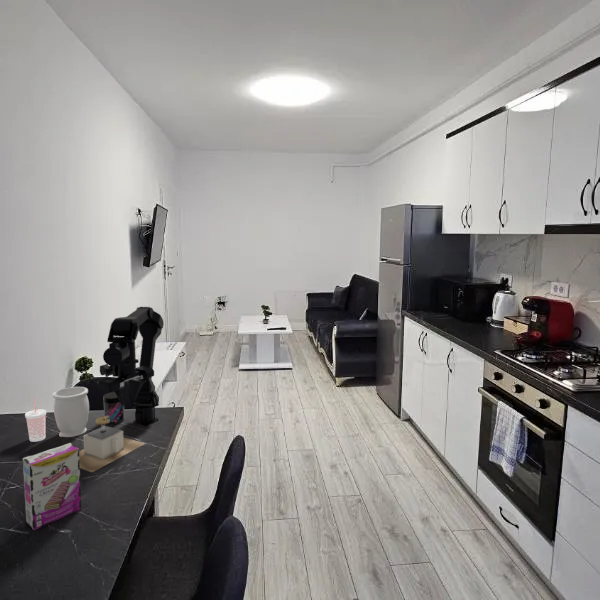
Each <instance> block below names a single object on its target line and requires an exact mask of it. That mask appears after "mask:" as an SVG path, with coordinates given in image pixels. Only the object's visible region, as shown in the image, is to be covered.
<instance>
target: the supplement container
mask: <svg viewBox="0 0 600 600" xmlns="http://www.w3.org/2000/svg"><path fill="white" fill-rule="evenodd" d="M102 399H103V412H104V415H103V416H109V417H110V422H109V423H108V424H107V425H117V424H121V423H123V422H124V421H125V406H122V405H121V404H120V401H119V399H118V397H117V395H116V393H115V392H114V391H112V392H107V393H105V394H103V398H102Z"/></svg>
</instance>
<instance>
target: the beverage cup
mask: <svg viewBox="0 0 600 600" xmlns="http://www.w3.org/2000/svg"><path fill="white" fill-rule="evenodd" d="M33 405H34V407H33V409H32V410H30V411H26V412H25V414H24V417H25V419H26V424H27V431H28V438H29V441H30V442H31V443H32V442H34V443H35V442H41V441H43V440H45V439H46V428H47V427H46V415H47V410H46V409H43V408H41V409H39V408H38V409H37V401H36V397H33Z"/></svg>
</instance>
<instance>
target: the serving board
mask: <svg viewBox="0 0 600 600" xmlns="http://www.w3.org/2000/svg"><path fill="white" fill-rule="evenodd" d="M123 440H124V449H123V450H122V451H120V452H118V453H116V454H114V455H112V456H110V457H108V458H106V459H104V460H100V459H97V458H94V457H91V456H88V455H85V454H84V448H83V449H81V450H79V465H80V470H81V469H82V470H85V471H86V472H90V473H94V472H96V471H97V470H99V469H101V468H103V467H105V466H106V465H109V464H110V463H113V462H115V461H116V460H118V459H119V458H122V457H124V456H126V455H127V454H129V453H131V452H133V451H135V450H137V449H139V448H140V447H142V446H144V445H146V443H145V442H141V441H137V440H135V439H132V438H128V437H126V436H125V437H124V436H123Z"/></svg>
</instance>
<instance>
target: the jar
mask: <svg viewBox="0 0 600 600" xmlns="http://www.w3.org/2000/svg"><path fill="white" fill-rule="evenodd" d="M88 393H89V389H88V388H87V387H84V386H71V387H64V388H60V389H59V390H56V391H54V392H53V393H52V397H53V399H54V403H53V413H54V415H53V416H54V419H55V423H56V426H57V429H58V430H59V431H60V432H59V433H58V434H59V435H58V436H59V437H60V438H61V437H64V438H71V437H77V436H80V435H82V434H85V433H86V431H87V430H88V429H87V424H88V421H89V413H90V402H89V398H88V395H87V394H88Z"/></svg>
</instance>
